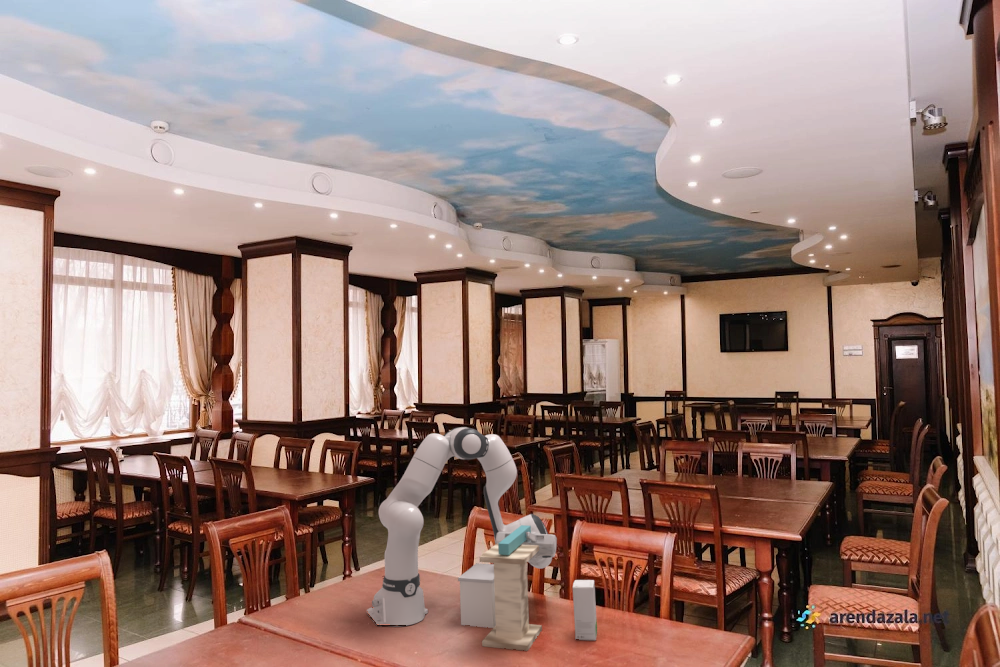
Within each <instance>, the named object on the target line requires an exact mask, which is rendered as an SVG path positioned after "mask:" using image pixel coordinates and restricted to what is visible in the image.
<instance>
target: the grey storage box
mask: <svg viewBox="0 0 1000 667" xmlns="http://www.w3.org/2000/svg"><path fill="white" fill-rule="evenodd" d="M457 582H459V599H460V600H459V601H460V602H459V604H460V605H459V606H460V607H459V608H460V625H461V626H465V625H470V626H469V627H476V626H477V627H478V628H487V627H488V629H493V628H494V627H495V626H496V618H495V588H494V563H480V562H477V563H475V564H473V565H472V566H471V567H470V568H469V569H467V570H466V571H465V572H464V573H462V574H461V575H460V576H459V577H458V576H457ZM477 627H476V628H477Z"/></svg>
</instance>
